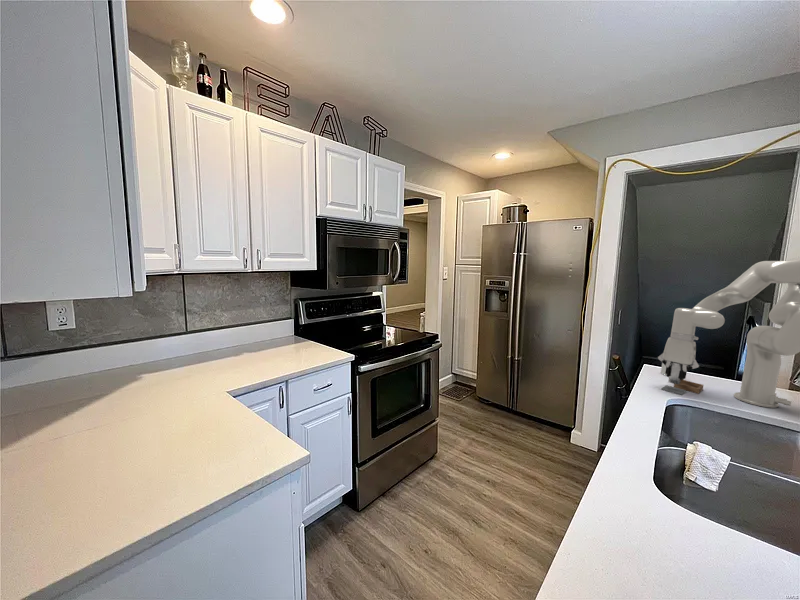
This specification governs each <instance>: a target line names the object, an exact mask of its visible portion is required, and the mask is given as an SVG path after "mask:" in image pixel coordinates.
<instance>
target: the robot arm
mask: <svg viewBox="0 0 800 600" xmlns="http://www.w3.org/2000/svg"><path fill="white" fill-rule="evenodd" d="M770 284H787V289H786V290H785V292H784V293H783V295H782V296H781V297H780V298H779V300H778V301H777V302H776V304H775V305H773V306H772V308H771V310H770V311H769V314H768V318H769V321H770V322H772V323H773V324H775V325H776V326H777V325H778V326H780V328H779V327H775V326H771V325H757V326H754V327H753V328H751V329H750V330H749V331H748V333H747V335H746V345H747V346H746V347H747V349H746V359H745V363H744V369H743V373H742V378H741V379H742V380H741V384H740V385H741V386H740V388H739V389H740V390H739V392H738V391H737V392H734V394H733V396H734V398H735V399H737V400H739V401H741V402H744V403H747V404H751V405H754V406H759V407H764V408H770V409H771V408H772V409H775V408H776V409H777V408H778V407H779V405H780V404H781V405H784V406H788V407H791V406H792V401H791V400H788V399H786V398H782V397H779V396H777V393H776V389H777V385H778V380H779V375H780V371H781V365H782V358H781V357H782V356H783V357H784V356H785V357H787V356H788V357H789V356H794V355H797V354H799V353H800V257H794V258H790V259H788V260H763V261H759V262H756V263H754V264H753V265H751V266H750V267H749V268H747V270H745V271H744V272H743V273H742V274H741V275H740V276H738V277H737V278H736V279H734V281H732V282H731V283H730V284H729V285H727V286H726V287H724V288H722V289H720V290H718V291H716V292H714V293H712V294H709V295H708V296H706V297H705V298H703V299H702V300H700V301H699V302H697V304H696V305H695V306H693V307H692V308H686V307H677V308H675V310H674V313H673V318H672V319H673V320H672V326H671V330H670V336H669V337H668V338H667V340H666V343H665V346H664V350H663V352H662V353H661V354H660V355H659V356H657V359H658V360H659V361H660V362H661V364H662V363H663V364H664V365H665V367H666V372H665V374H667V375H665V376H666V377H667V378H669V374H670V368H671V362H675V363H680V364H683V370H682V371H681V375H680V380H685V379H686V378H687V372H688V371H691V370H694V369H697V368H700V365H699V363H698V362H697V360H696V352H697V344H696V341H698V340H699V337H698V336H696V334H695V333H696V327H698V328H703V329H707V330H708V329H710V330H714V329H719V328H721V327H722V326H723V325H724V324H725V321H726V319H725V317H724V315H723V314H721V313H719V311H720V310H722V309H725V308H727V307H729V306H733V305H738V304H739V305H740V304H743V303H746V302H749V301H751V300H752V299H753V298H754V297H755V296H757V295H758V294H759V293H760V292H762V291H763V290H764V289H765V288H767V287H768V286H770ZM666 360H667V361H666Z"/></svg>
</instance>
